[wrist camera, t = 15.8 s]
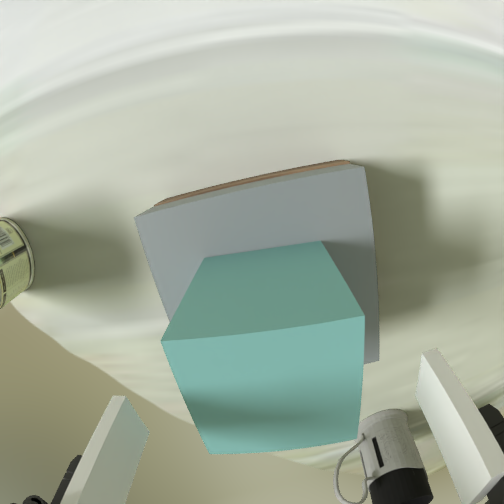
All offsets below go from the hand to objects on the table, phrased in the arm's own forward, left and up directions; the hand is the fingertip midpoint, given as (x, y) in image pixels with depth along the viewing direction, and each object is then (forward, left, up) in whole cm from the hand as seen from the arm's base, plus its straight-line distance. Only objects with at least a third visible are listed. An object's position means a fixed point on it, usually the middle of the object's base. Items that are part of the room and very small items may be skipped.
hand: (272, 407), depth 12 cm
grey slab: (0, 0, -15) cm, 15 cm away
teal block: (+1, 0, -11) cm, 11 cm away
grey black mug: (+17, +24, -18) cm, 35 cm away
